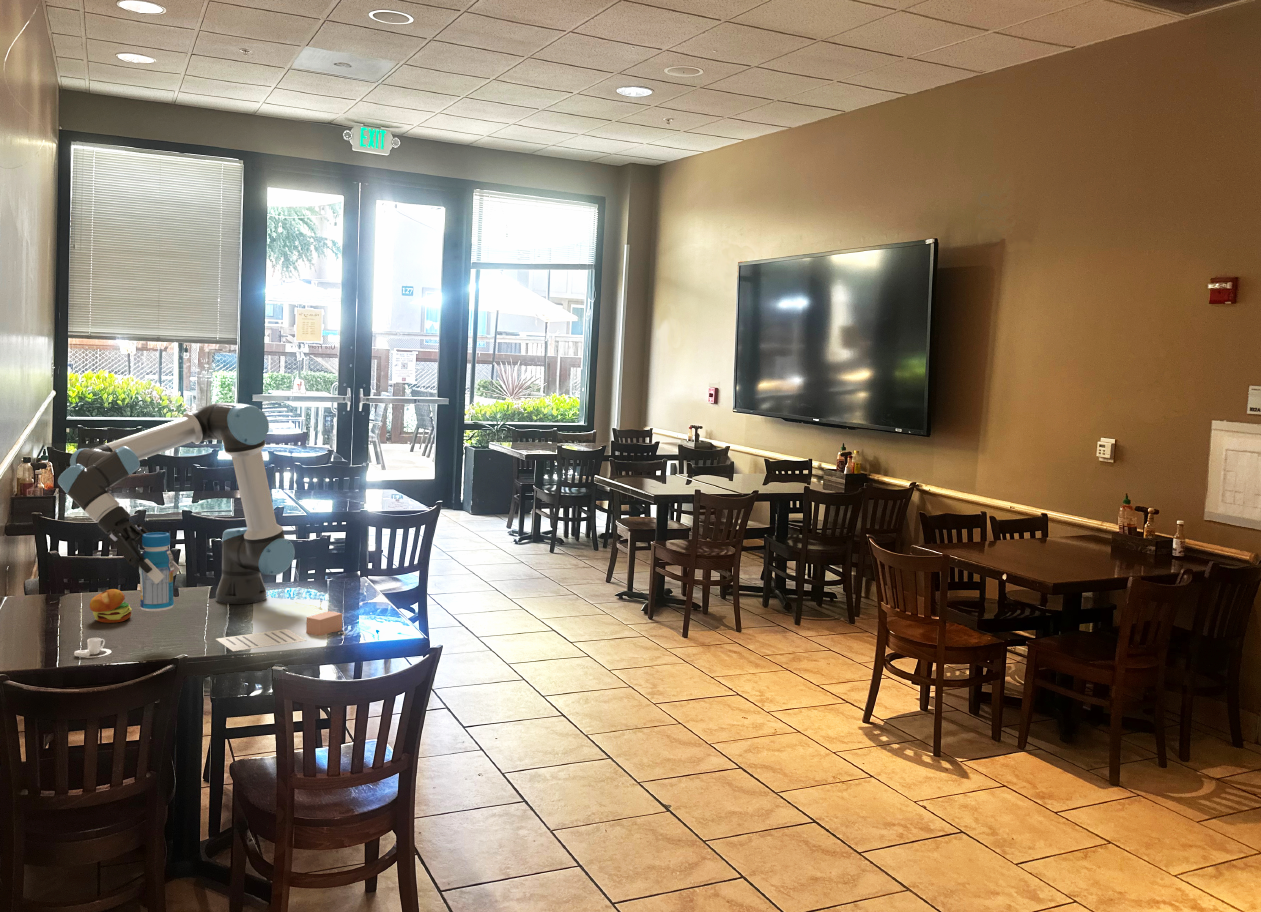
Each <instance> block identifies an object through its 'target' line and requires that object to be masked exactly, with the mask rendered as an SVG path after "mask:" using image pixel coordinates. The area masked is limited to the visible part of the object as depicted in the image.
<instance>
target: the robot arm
mask: <svg viewBox="0 0 1261 912" xmlns="http://www.w3.org/2000/svg"><path fill="white" fill-rule="evenodd" d="M269 430H270V423H269V419H268V417H267V415H266V414H265V412H264V411H263V410H262V409H260V408H259V407H258V406H255V405H251V404H248V403H234V402H223V401H221V402H216V403H215V402H214V403H211V404H209V405H205V406H203V407H200V408H198V409H194V410H192V411H188V412H186V413H183V415H182V417H181V418H178V419H174V420H173V421H169V422H167V423H163V424H161V425H160V424H159V425H158V426H155V427H151V428H149V429H146V430H143V431H140V432H137V433H134V434H131V435H128V436H125V437H122V438H119V439H116V440H114V441H111V442H108V443H105V444H102V445H98V446H96V447H92V448H89V447H85V448H78V449H77V450H75V451H74V452H73V453H72V454H71V457H70V459H69V465H70V466H69V467H67V468H66V469H65V470H64V471H63V472H62V473H60V475H59V476H58V479H57V484H58V485H59V486H60V488H61V489H62V490H63V491H64V493H65V494H66V495H67V496H69V498H70V499H72V500H73V502H75V503H76V504H77V505H78V506H79V508H81V509H82V510H83V512H85V513H86V515H87V516H88V518H89V519H91V520H93V522H95V523H97V527H99V528H100V529H101V530H102V531H103V532H104V533H105V534H107V535H108V537H107V539H108V540H109V541H110V542H111V543H112V544H113V545H114V546H115V548H116V549H117V550H118V552H120V554H121V555H122V557H123V558H124V559H125V560H126V562H127V563H128V564H129V565H130V566H132V567H133V568H135V569H136V568H137V567H138V568H139V567H140V568H141V569H142V570H143V571H144V572H145V573H146V574H147V575H148V576H149V577H150V578H151V579H152V580H153V581H154V582H155V583H156V584H157V583H158V582H159V581H161V580H162V579H163V578H164V577H165V576H164V575H163V574H162V573H161V572H160V571H159V570H158V569H157V568H156V567H155V566H154V565H153V564H152V563H151V562H150V561H149V560H148V559H145V560H144V557H143V555H142V552H141V550H140V548H139V547H138V545H139V546H140V547H141V548H143V549H145V548H144V547H143V546H142V535H143V534H146V533H151V532H150V531H148V529H146V528H145V526H144V525H143V524H142V523H140V522H138V523H137V524H133V523H132V522H131V521H130V518H131V513H129V512H128V511H127V510H126V509H125V508H124V507H123V506H121V505H120V502H118V500H117V499H116V498H115V497H114V496H113V495H111V494H110V492H109V491H108V489H110V488H112V487H113V486H114V485H116V484H118V483H120V482H121V481H122V480H124V479H126V478H127V477H129V476H131V475H132V474H134V473H135V472H136V471H137V470H139V468H140V465H141V463H140V461H142V460H144V459H148V458H149V457H153V456H155V455H158V454H161V453H165V452H166V451H170V450H172V449H175V448H177V447H181V446H184V445H186V444H189V443H193V444H199V443H202V442H206V441H213V440H214V441H222V444H223V447H224V448H223V449H224V452H225V453H226V454H228V455H229V456H231V458H232V459H231V460H232V464H233V468H234V472H235V477H236V482H237V487H238V491H239V495H240V501H241V505H242V510H243V514H244V518H245V524H246V527H237V528H228V529H225V530H224V531H223V532H222V536H221V537H222V538H221V577H220V581H219V583H218V586H217V589H216V591H215V601H216V602H219V603H222V604H228V605H229V604H230V605H246V604H253V603H258V602H259V603H260V602H262V601H264V600H266V599H267V590H266V587H265V583H264V581H263V577H262V574H264V575H272V576H278V575H280V574H283V573H285V572H286V571H287V570H288V569H289V568H290V566H291V564H292V563H294V558H295V556H296V555H295V554H296V552H295V546H294V544H293V543H292V542H291V541H290V540H289V539H287V538H286V537H285V533H284V528H283V526H282V525H279V524H278V523H277V519H276V515H275V509H274V504H273V501H272V495H271V491H270V490H271V489H270V486H269V481H268V477H267V471H266V468H265V466H266V465H265V462H264V461H265V460H264V457H263V453H262V450H263V448H264V447H266V442H265V439H266V438H267V434H268V433H269ZM172 564H173V566H174V572H173V577H174V576H176V575H177V574H178V573H179V572H180V571H181V570H182V568H181V567H180V566H179V565H178V564H177V563H176V562H175V560H173V561H172Z"/></svg>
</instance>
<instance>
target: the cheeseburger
mask: <svg viewBox="0 0 1261 912" xmlns="http://www.w3.org/2000/svg"><path fill="white" fill-rule="evenodd" d="M125 599H126V596H125V594H124V593H123V592H122V591H121V590H119V589H116V588H111V589H106V590H105V591H102V592H100V593H98V594H97V595H95V596H94V597H92V598H91V599H90V602H89V609H90V610H91V611H92V614H93V617H94V619H95V620H96V621H97V622H100V623H107V624H108V623H109V624H115V623H121V622H124V621H126V620H128V619H129V618H130V617H131V616H132V611H133V610H132V608H131V604H130V603H128V602H125Z"/></svg>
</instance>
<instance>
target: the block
mask: <svg viewBox="0 0 1261 912" xmlns="http://www.w3.org/2000/svg"><path fill="white" fill-rule="evenodd" d="M305 624H306V628H305V630H306V632H305V633H306V634H309V635H314V636H323V635H327V634H330V633H332V632H333V633H336V632H340V631H342V630H343V629H342V628H343V613H341V612H340V613H339V612H335V611H330V610H328V611H325V612H321V613H317V614H313V615H310V616H306V623H305Z"/></svg>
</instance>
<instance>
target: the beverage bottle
mask: <svg viewBox="0 0 1261 912" xmlns="http://www.w3.org/2000/svg"><path fill="white" fill-rule="evenodd" d="M170 545H171V535H170V533H169V532H167V531H165V532H163V531H155V532H154V531H153V532H150V533H146V534H143V535H142V546H143V547H144V548H143V547H142V546H141V547H142V548H143V551H142V552H141V553H142V555H143V557H144V560H145V559H148V560H149V561H150V562H151V563H152V564H153V565H154V566H155V567H156V568H157V569H158V570H159V571H160V572H161V573H162V574H163V575H164V576H165V577H164V578H163V579H162V580H161V581H159V582H158V583H157V584H156V583H155V582H154V581H153V580H152V579H151V578H150V577H149V576H148V575H147V574H146V573H145V572H144V571H143V570H142V569H141V568H140V567H139V566H138V572H139V573H138V574H139V577H140V579H139V581H140V582H139V584H140V586H139V587H140V590H139V591H140V602H139V607H140V609H141V610H142V611H147V612H160V611H161V612H163V611H165V610H170V609H171V608H173V607H174V605H175V601H174V576H173V572H174V566H173V564H172V561H174V555H173V553H172V552H171V550H170V549H169V547H170Z"/></svg>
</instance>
